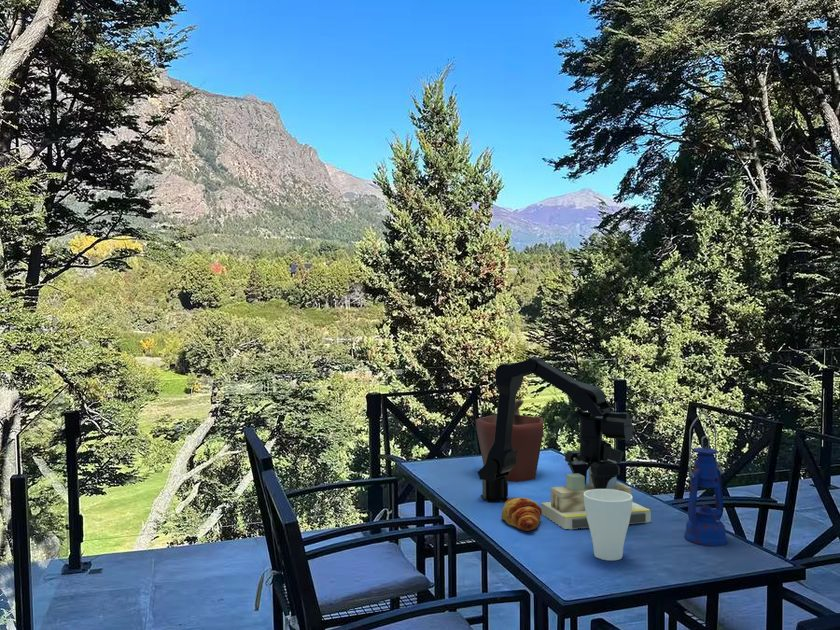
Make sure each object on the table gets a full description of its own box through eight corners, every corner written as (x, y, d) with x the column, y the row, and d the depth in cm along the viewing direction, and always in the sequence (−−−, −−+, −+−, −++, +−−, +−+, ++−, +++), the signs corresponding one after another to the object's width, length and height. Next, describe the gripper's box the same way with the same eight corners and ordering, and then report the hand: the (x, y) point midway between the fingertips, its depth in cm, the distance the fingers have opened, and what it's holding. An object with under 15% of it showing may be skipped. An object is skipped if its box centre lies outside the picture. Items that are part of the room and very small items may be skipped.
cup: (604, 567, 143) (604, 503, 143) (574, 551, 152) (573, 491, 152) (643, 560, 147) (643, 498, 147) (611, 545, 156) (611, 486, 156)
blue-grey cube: (604, 488, 176) (604, 475, 176) (597, 485, 180) (597, 472, 180) (616, 487, 177) (616, 474, 177) (609, 484, 180) (609, 471, 180)
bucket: (501, 464, 241) (501, 394, 241) (559, 473, 228) (559, 398, 228) (465, 478, 221) (465, 401, 221) (526, 488, 208) (526, 407, 208)
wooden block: (561, 512, 172) (561, 493, 172) (551, 506, 178) (550, 487, 178) (631, 506, 177) (631, 487, 177) (619, 500, 183) (619, 482, 183)
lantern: (707, 549, 154) (706, 417, 154) (674, 537, 162) (673, 411, 162) (738, 541, 158) (737, 413, 158) (704, 530, 167) (704, 408, 167)
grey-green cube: (572, 490, 174) (572, 477, 174) (566, 487, 177) (566, 474, 177) (584, 490, 175) (584, 476, 175) (578, 486, 178) (578, 473, 178)
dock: (566, 530, 167) (566, 518, 167) (541, 513, 181) (541, 502, 181) (652, 523, 173) (652, 510, 173) (621, 507, 187) (621, 495, 187)
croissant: (502, 523, 185) (488, 497, 185) (534, 505, 186) (520, 479, 186) (520, 548, 164) (505, 519, 164) (556, 527, 165) (541, 498, 164)
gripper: (638, 440, 170) (638, 502, 170) (600, 428, 188) (601, 484, 188) (598, 442, 167) (598, 506, 167) (564, 430, 185) (564, 487, 185)
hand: (591, 495), depth 177 cm, fingers open, 9 cm apart
